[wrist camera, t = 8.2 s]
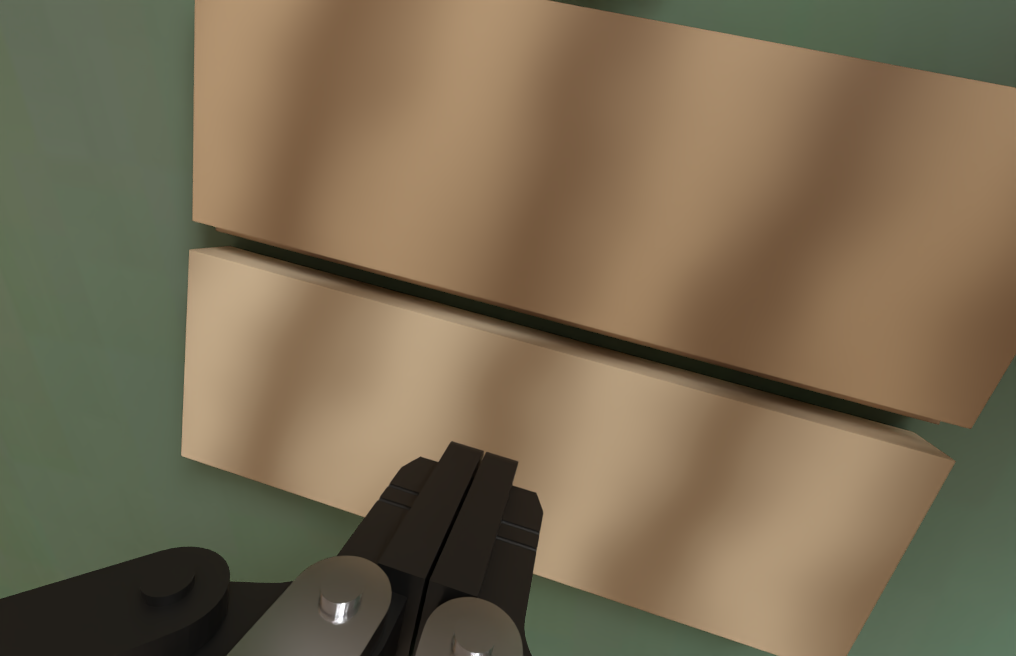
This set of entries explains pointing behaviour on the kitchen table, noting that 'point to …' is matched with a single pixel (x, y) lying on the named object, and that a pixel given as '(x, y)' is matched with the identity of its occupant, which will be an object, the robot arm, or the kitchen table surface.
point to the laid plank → (629, 183)
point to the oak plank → (560, 448)
